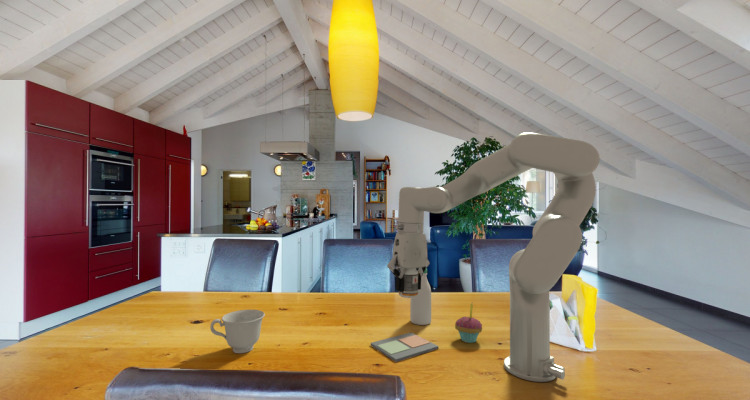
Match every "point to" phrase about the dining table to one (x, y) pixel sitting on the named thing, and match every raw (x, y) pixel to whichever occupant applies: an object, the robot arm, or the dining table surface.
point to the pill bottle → (410, 283)
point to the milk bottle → (421, 303)
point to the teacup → (240, 329)
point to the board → (403, 346)
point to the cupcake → (468, 328)
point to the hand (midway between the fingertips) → (408, 289)
